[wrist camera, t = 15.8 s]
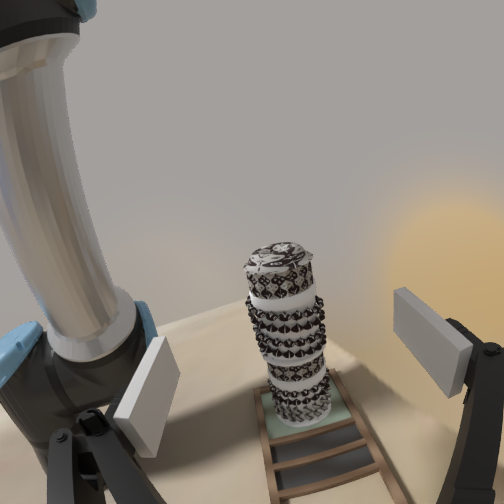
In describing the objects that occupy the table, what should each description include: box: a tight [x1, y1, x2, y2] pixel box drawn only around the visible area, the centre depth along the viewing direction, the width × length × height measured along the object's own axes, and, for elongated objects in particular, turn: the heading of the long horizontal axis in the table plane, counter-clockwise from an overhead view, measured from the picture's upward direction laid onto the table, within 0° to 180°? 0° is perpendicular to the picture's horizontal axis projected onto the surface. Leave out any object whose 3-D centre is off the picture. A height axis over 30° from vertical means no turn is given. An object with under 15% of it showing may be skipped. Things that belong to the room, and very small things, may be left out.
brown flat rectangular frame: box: [253, 369, 408, 504], centre depth 29 cm, size 34×14×1 cm, turn 5°
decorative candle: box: [243, 242, 331, 428], centre depth 36 cm, size 9×9×25 cm
